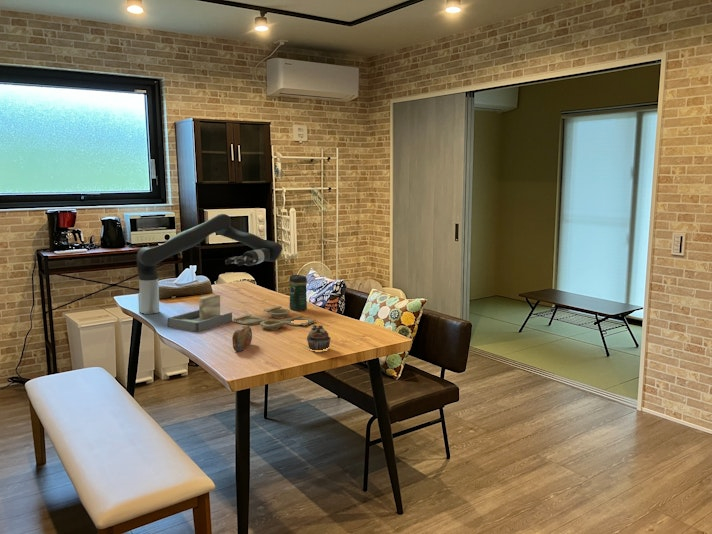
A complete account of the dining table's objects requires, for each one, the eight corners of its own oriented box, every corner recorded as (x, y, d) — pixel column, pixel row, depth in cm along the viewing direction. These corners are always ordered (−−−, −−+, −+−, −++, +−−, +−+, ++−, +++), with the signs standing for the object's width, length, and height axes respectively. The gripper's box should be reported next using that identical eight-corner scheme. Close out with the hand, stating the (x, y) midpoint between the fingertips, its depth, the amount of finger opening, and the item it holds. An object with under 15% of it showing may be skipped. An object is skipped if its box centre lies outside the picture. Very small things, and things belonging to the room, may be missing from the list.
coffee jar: (309, 310, 304) (309, 275, 302) (296, 312, 300) (296, 276, 297) (299, 306, 312) (299, 273, 309) (287, 308, 307) (287, 274, 305)
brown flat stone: (238, 353, 227) (238, 333, 226) (231, 353, 228) (230, 332, 226) (252, 343, 242) (252, 323, 240) (245, 342, 242) (245, 323, 241)
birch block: (199, 318, 274) (199, 297, 273) (214, 314, 283) (213, 294, 282) (206, 319, 272) (205, 298, 271) (220, 315, 281) (219, 295, 280)
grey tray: (167, 326, 266) (167, 318, 265) (204, 316, 287) (203, 308, 286) (197, 331, 258) (196, 323, 257) (232, 320, 279) (232, 312, 278)
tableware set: (228, 321, 279) (228, 313, 278) (275, 312, 300) (275, 304, 300) (274, 335, 255) (274, 326, 255) (322, 324, 277) (322, 316, 276)
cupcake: (332, 352, 230) (332, 328, 229) (308, 353, 228) (308, 329, 227) (328, 346, 240) (328, 322, 238) (305, 347, 238) (305, 323, 236)
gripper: (242, 249, 303) (220, 254, 289) (263, 251, 295) (241, 256, 282) (243, 263, 304) (222, 269, 291) (264, 265, 297) (243, 271, 284)
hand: (231, 263), depth 286 cm, fingers open, 8 cm apart
